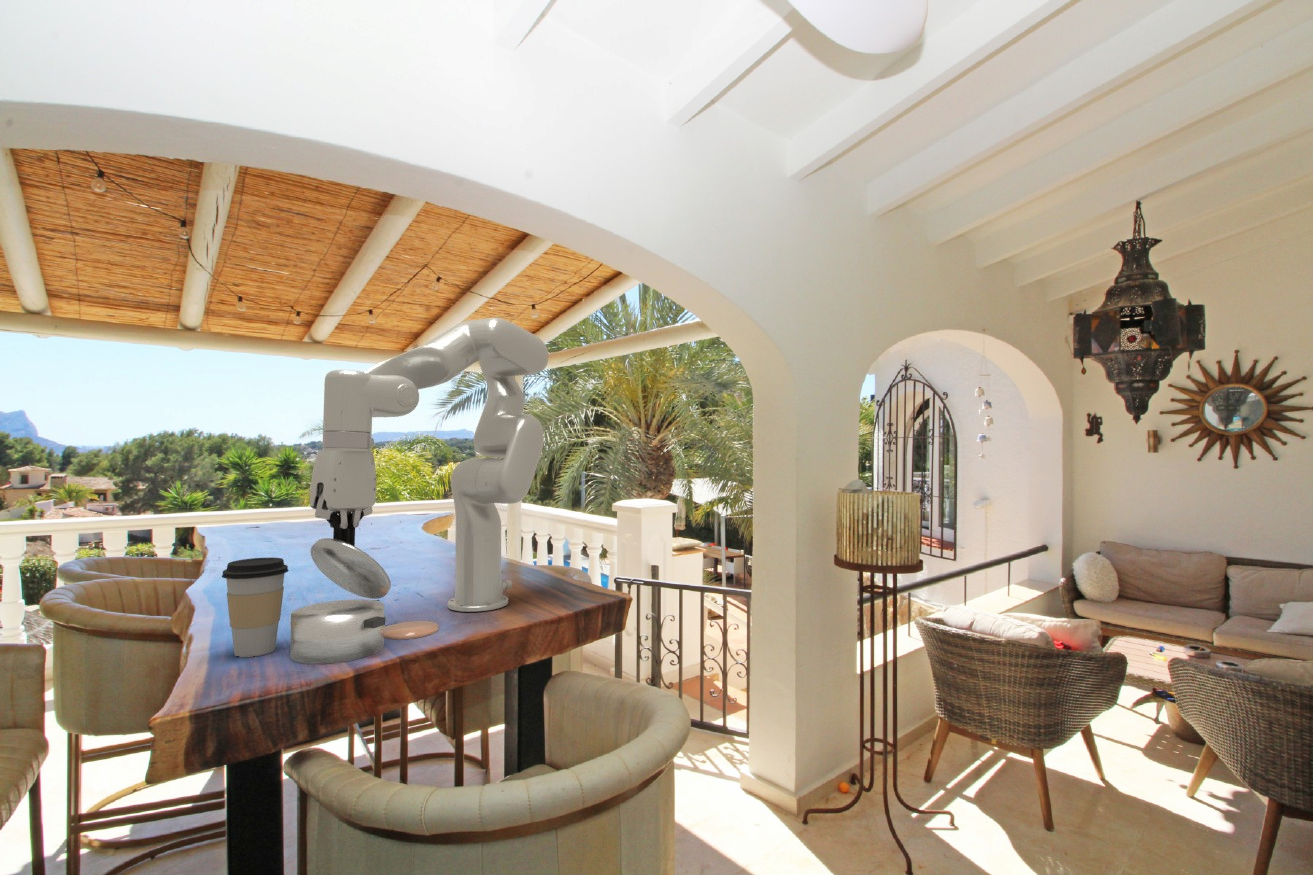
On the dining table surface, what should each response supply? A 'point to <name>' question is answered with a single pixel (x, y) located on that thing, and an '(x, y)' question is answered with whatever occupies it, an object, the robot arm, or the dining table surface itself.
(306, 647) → the pot
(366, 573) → the lid
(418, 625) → the coaster
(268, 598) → the coffee cup
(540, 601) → the dining table surface
